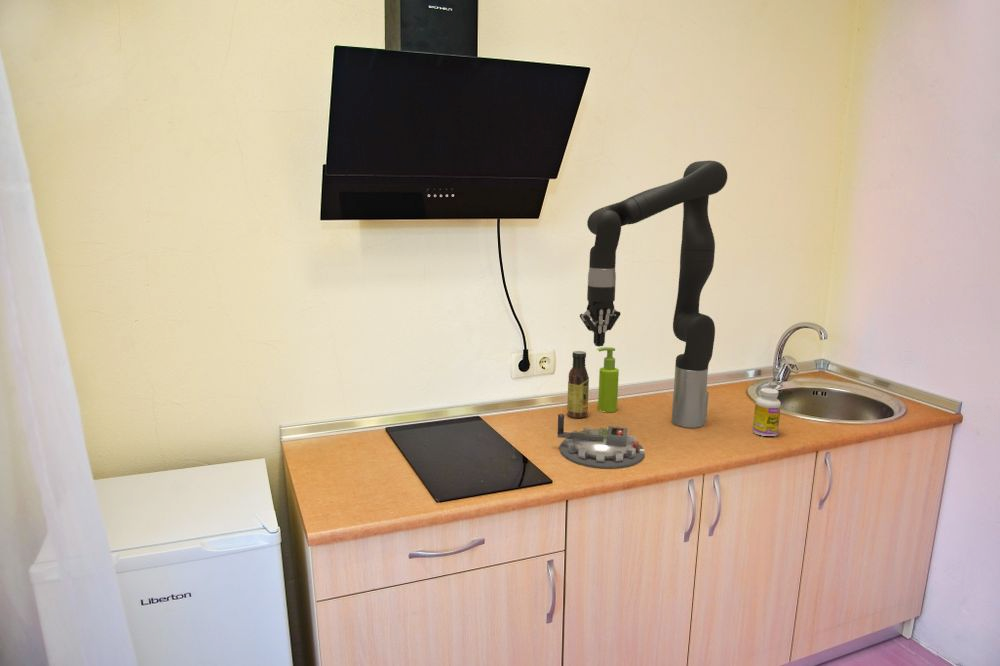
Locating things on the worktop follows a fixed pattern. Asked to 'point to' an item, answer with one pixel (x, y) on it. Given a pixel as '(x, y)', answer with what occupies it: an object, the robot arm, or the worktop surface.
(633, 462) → the sprocket base
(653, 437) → the worktop surface
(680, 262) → the robot arm
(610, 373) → the soap dispenser
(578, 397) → the sauce bottle
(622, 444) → the chain link
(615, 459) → the sprocket
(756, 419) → the supplement bottle
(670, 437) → the worktop surface
